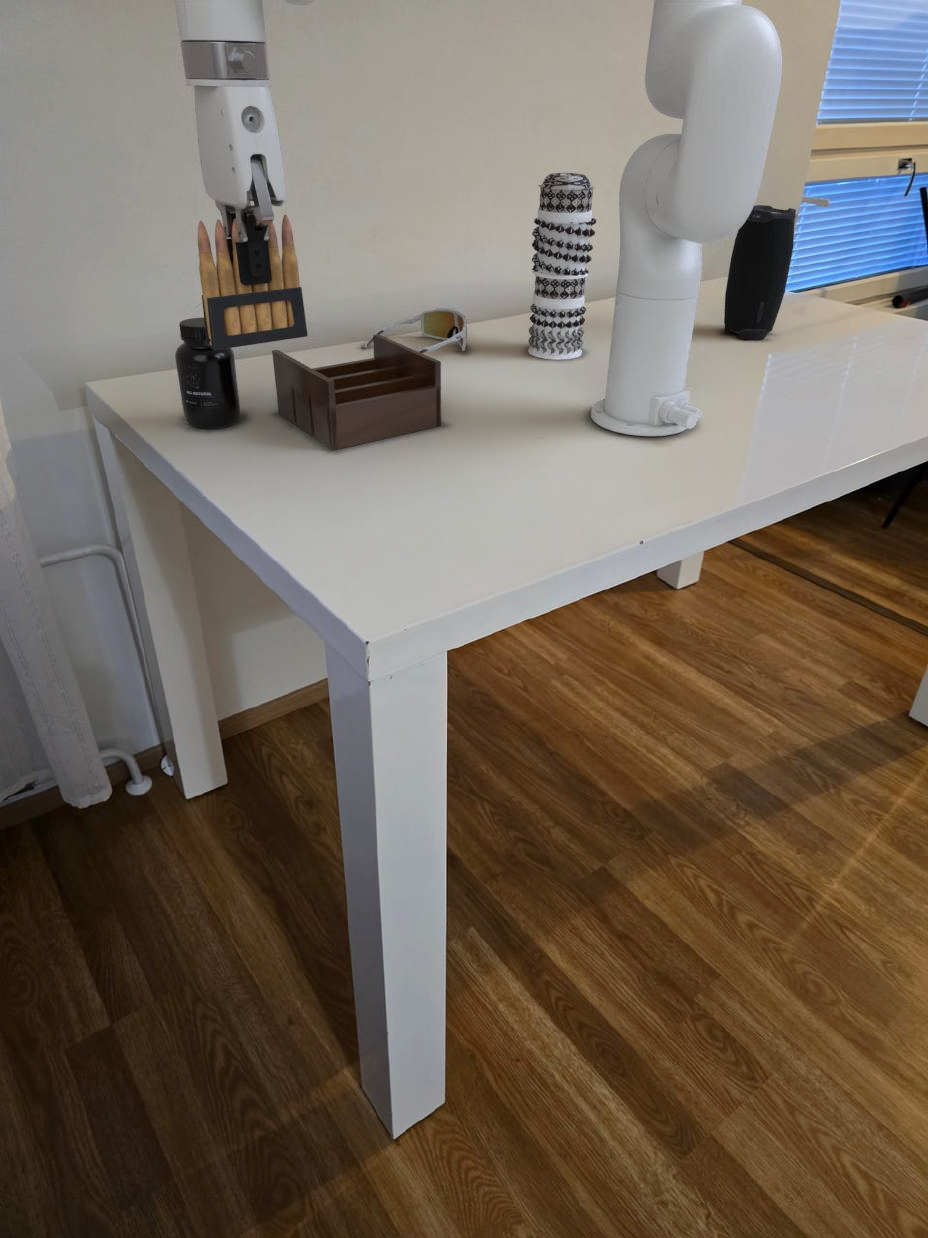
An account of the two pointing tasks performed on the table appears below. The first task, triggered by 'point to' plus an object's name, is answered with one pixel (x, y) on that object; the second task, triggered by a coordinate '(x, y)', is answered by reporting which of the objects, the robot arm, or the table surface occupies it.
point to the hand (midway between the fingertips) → (251, 280)
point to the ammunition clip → (250, 293)
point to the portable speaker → (759, 272)
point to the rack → (361, 395)
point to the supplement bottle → (206, 379)
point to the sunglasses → (436, 327)
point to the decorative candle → (561, 266)
